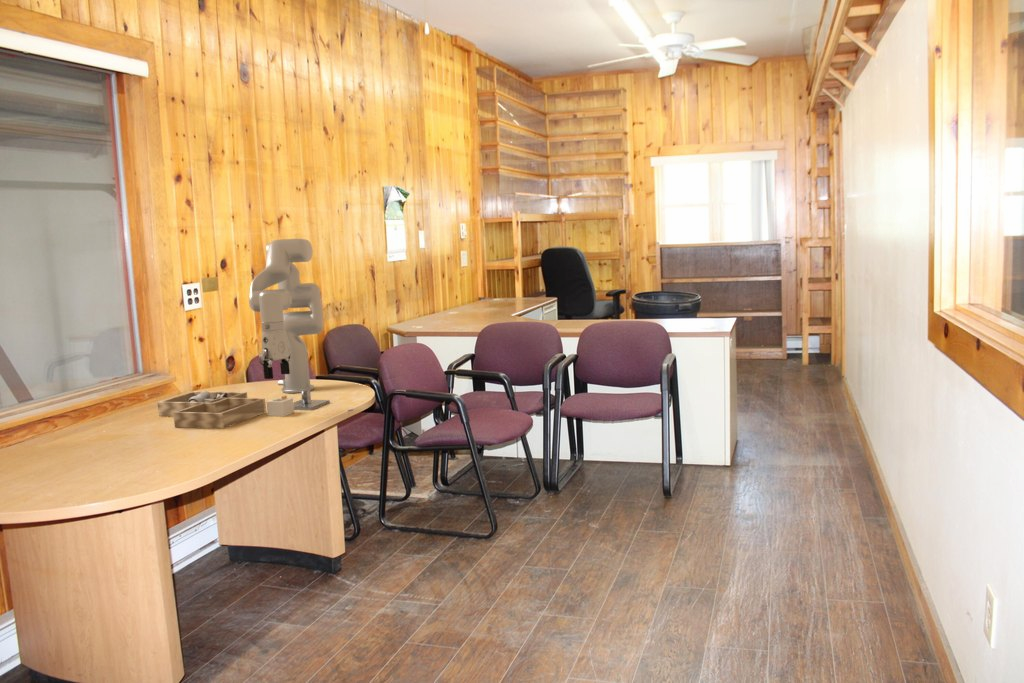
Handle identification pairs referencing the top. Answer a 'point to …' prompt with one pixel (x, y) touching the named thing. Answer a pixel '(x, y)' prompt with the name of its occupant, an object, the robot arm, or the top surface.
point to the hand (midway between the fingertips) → (277, 376)
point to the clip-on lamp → (205, 397)
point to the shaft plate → (308, 402)
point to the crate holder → (182, 403)
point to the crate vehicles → (237, 413)
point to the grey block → (280, 406)
